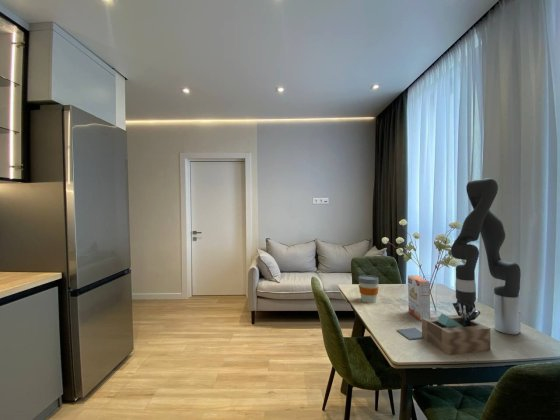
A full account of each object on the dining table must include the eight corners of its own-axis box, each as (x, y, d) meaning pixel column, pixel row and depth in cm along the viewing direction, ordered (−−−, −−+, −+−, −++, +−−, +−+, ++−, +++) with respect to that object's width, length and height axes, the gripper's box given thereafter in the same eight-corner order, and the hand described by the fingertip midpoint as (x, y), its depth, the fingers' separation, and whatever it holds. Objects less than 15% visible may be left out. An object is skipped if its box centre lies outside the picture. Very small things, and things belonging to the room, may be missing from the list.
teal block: (460, 336, 129) (464, 328, 129) (468, 340, 124) (472, 332, 125) (437, 321, 126) (441, 313, 127) (444, 325, 122) (449, 317, 122)
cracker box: (407, 311, 165) (407, 275, 165) (418, 311, 165) (417, 274, 165) (419, 320, 151) (418, 281, 151) (430, 320, 151) (430, 281, 151)
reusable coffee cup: (380, 304, 178) (380, 280, 178) (359, 303, 180) (359, 279, 180) (377, 297, 190) (376, 275, 190) (357, 297, 192) (357, 274, 192)
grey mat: (415, 328, 141) (415, 327, 141) (429, 337, 131) (429, 336, 131) (396, 330, 139) (396, 329, 139) (409, 340, 129) (409, 338, 129)
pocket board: (459, 333, 135) (459, 314, 135) (490, 349, 119) (490, 328, 119) (421, 337, 131) (421, 318, 131) (448, 355, 116) (448, 332, 116)
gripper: (486, 292, 121) (487, 333, 121) (460, 284, 134) (461, 321, 134) (470, 294, 119) (471, 335, 119) (446, 285, 132) (447, 323, 132)
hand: (466, 327), depth 127 cm, fingers closed
